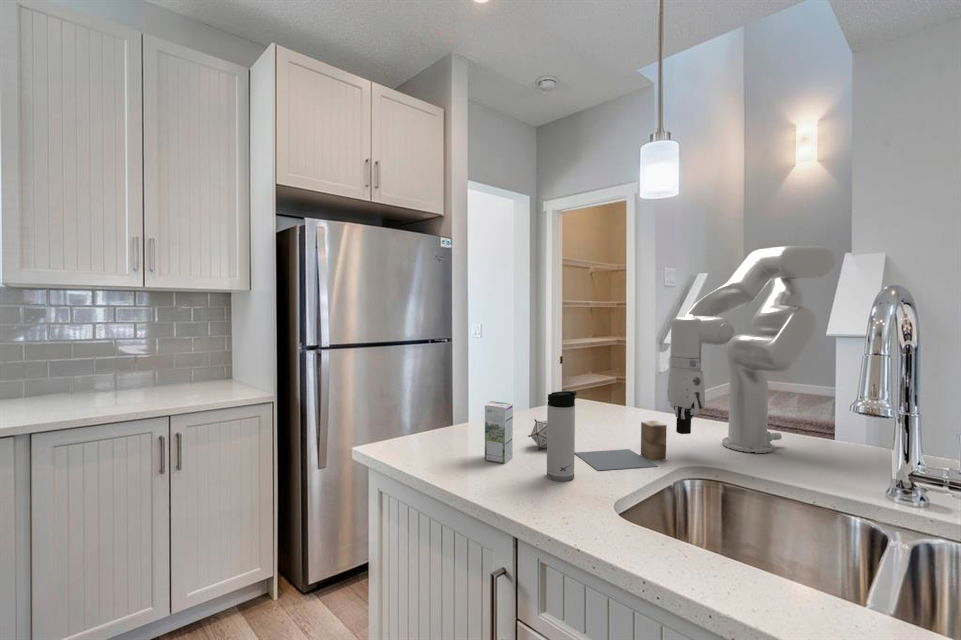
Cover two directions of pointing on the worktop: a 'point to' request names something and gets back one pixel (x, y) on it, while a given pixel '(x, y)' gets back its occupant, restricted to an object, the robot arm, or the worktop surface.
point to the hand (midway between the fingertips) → (683, 433)
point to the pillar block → (653, 440)
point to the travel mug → (561, 435)
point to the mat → (614, 459)
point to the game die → (540, 433)
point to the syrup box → (498, 431)
